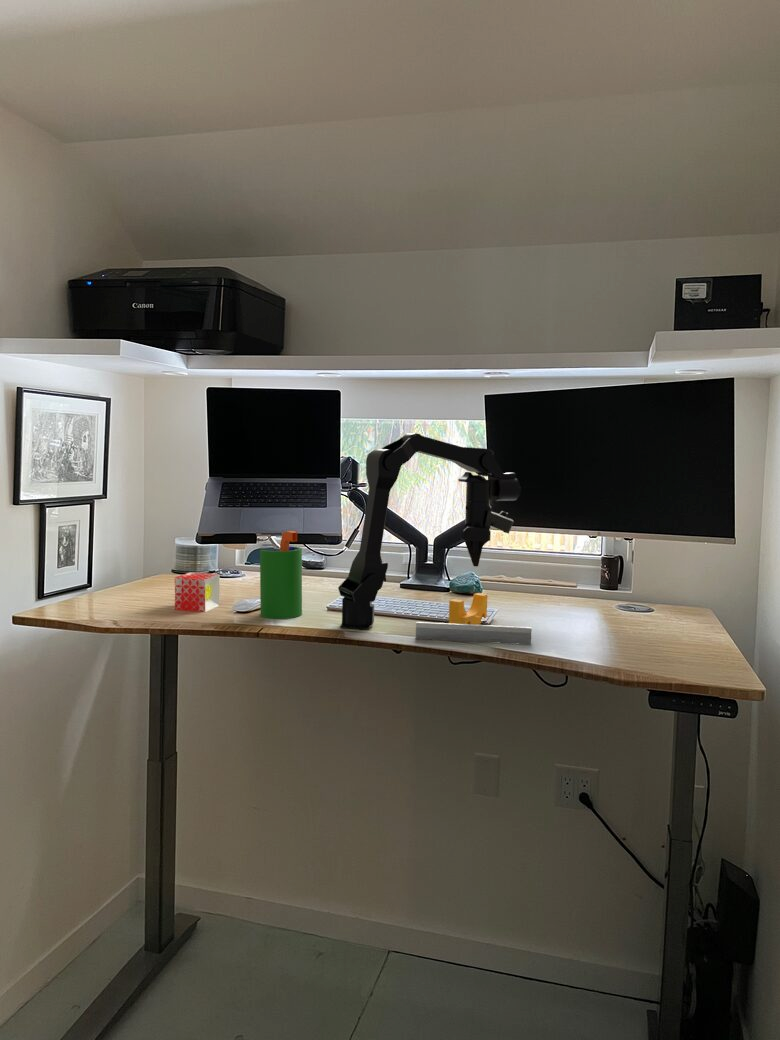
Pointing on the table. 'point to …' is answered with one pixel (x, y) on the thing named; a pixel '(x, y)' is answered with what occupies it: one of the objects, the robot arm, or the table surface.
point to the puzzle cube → (197, 591)
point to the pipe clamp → (473, 614)
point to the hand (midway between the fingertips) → (475, 566)
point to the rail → (473, 632)
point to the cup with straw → (281, 580)
